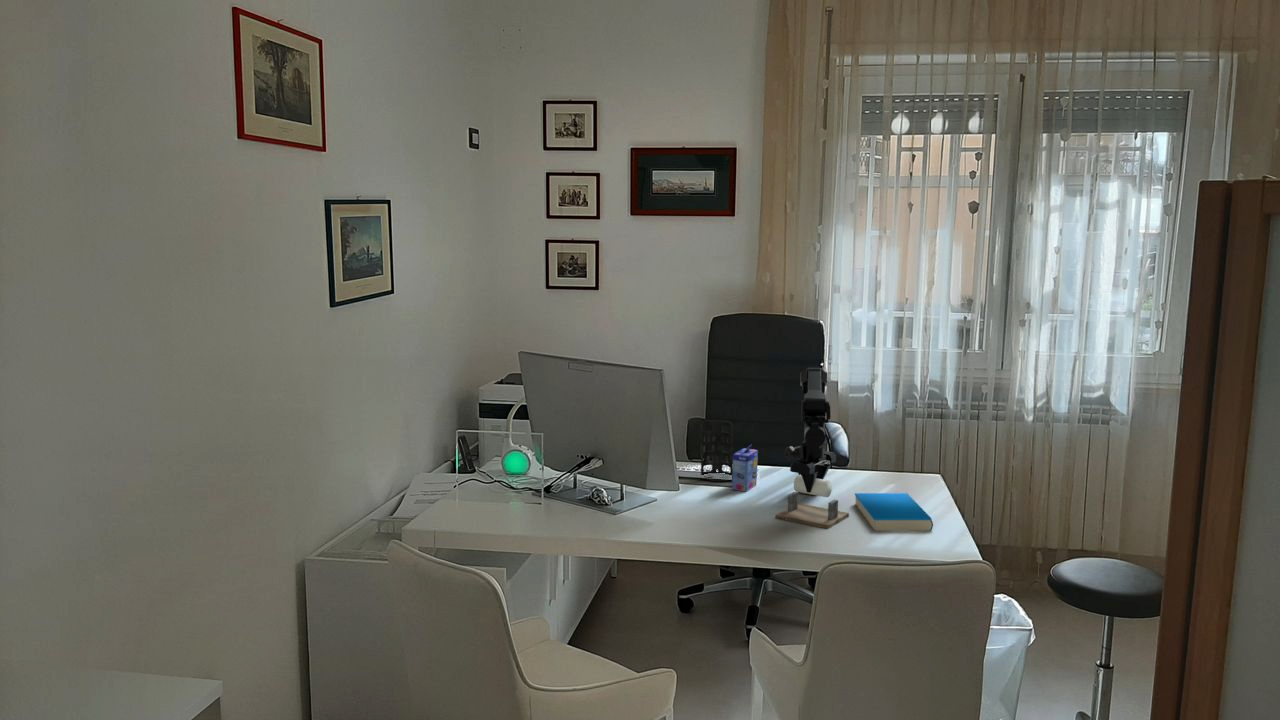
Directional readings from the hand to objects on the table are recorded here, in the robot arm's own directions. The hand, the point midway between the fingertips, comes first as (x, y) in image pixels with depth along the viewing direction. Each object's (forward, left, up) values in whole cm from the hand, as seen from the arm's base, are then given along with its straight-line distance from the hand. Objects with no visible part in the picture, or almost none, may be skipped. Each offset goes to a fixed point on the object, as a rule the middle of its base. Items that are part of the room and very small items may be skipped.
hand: (812, 490), depth 280 cm
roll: (0, 0, -1) cm, 1 cm away
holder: (-18, -45, -8) cm, 49 cm away
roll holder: (0, 0, -8) cm, 8 cm away
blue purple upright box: (-15, -32, -9) cm, 36 cm away
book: (-14, +19, -9) cm, 25 cm away
